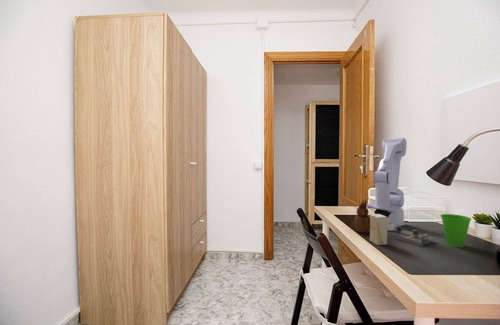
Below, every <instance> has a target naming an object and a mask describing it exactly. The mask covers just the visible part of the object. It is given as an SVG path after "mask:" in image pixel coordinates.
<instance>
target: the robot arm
mask: <svg viewBox="0 0 500 325" xmlns="http://www.w3.org/2000/svg"><path fill="white" fill-rule="evenodd" d="M407 146H408V145H407V139H406V138H405V137H402V138H401V137H400V138H384V139H383V140H382V150H383V152H384V153H383V155H384V156H383V158H382V159H381V160H380V161H379V165H378V167H377V170H376V171H374V173H373V183H374V185H373V186H374V188H375V189H374V190H375V191H374V192H375V193H374V194H375V203H366V208H367V209H373V210H374V211H373V214H381V215H384V216H386V217H388V223H393V224H395V228H396V226H397V225H398V226H401V227H402V226H405V225H406V223H405V221H404V220H405V219H404V217H405V216H404V215H405V214H404V213H405V212H404V209H403V207H404V204H405V198H404V197H405V194H404V192H403V191H402V190H401V189H399V179H400V168H401V160H402V158H403V157H404V156H406V153H407Z"/></svg>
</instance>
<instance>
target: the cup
mask: <svg viewBox="0 0 500 325" xmlns="http://www.w3.org/2000/svg"><path fill="white" fill-rule="evenodd" d="M439 216H440V217H441V221H442V226H443V232H444V238H445V242H446V244H447V245H448V246H450V247H454V248H464V246H465V244H466V241H467V235H468V231H469V226H470V223H471V221H472V218H471V217H468V216H466V215H461V214H455V213H454V214H453V213H452V214H451V213H443V214H440V215H439Z"/></svg>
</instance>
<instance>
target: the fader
mask: <svg viewBox="0 0 500 325" xmlns="http://www.w3.org/2000/svg"><path fill="white" fill-rule="evenodd" d="M395 228H396V227H395V224H393V223H387V230H389V231H392V230H395Z"/></svg>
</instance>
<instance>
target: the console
mask: <svg viewBox="0 0 500 325" xmlns="http://www.w3.org/2000/svg"><path fill="white" fill-rule="evenodd" d="M387 238H391V239H395V240H397V241H398V240H399V241H402V242H405V243H408V244H411V245H414V246H418V247H424V246H427V245H430V244H432V243H435V241H436V239H435V237H431V236H429V234H428V233H424V234H420V233H419V230H418V229H412V231H409V230H404V229H402V225H401V226H398V225H397V226H396V227H395V230H392V231H389V230H387Z"/></svg>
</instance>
